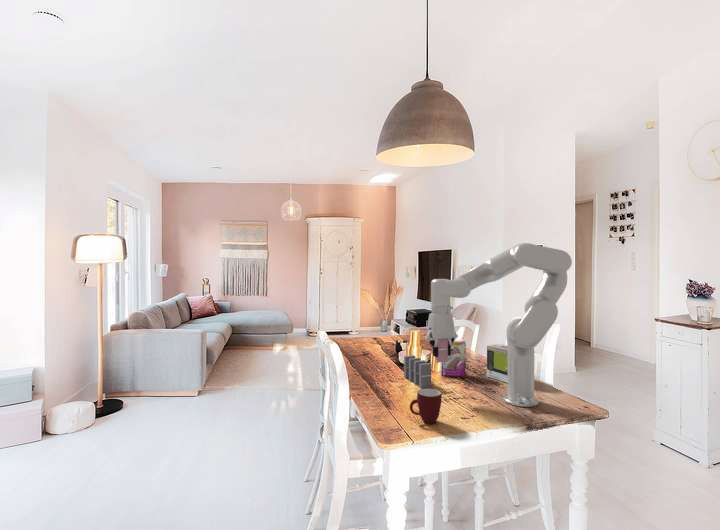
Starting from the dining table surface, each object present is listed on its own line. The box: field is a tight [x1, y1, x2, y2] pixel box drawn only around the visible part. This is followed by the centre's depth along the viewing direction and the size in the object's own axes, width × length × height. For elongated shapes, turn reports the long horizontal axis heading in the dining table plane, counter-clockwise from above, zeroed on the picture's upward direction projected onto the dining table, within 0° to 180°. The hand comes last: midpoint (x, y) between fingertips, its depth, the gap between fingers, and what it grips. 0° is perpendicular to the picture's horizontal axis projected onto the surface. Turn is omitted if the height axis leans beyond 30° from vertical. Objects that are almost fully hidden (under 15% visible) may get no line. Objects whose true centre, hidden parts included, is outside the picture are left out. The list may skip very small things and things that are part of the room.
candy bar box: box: [440, 339, 467, 377], centre depth 186 cm, size 11×5×16 cm, turn 84°
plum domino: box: [434, 339, 448, 364], centre depth 157 cm, size 2×5×10 cm, turn 110°
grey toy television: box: [486, 343, 508, 384], centre depth 179 cm, size 15×10×15 cm, turn 28°
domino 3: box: [413, 359, 427, 386], centre depth 173 cm, size 2×5×10 cm, turn 110°
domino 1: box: [403, 354, 416, 379], centre depth 182 cm, size 2×5×10 cm, turn 110°
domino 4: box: [418, 362, 432, 389], centre depth 169 cm, size 2×5×10 cm, turn 110°
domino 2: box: [408, 357, 421, 383], centre depth 178 cm, size 2×5×10 cm, turn 110°
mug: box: [409, 388, 443, 425], centre depth 133 cm, size 10×8×10 cm
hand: (441, 355), depth 157 cm, fingers closed on plum domino, 4 cm apart
